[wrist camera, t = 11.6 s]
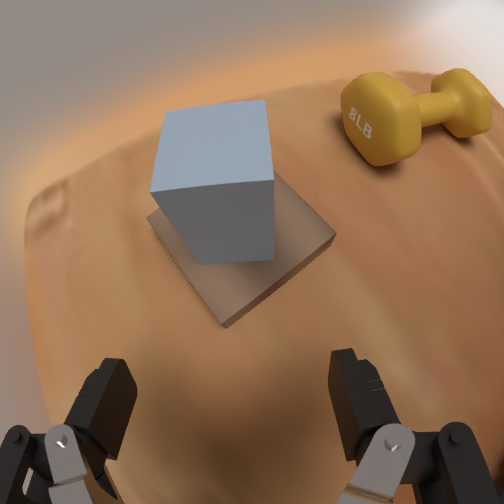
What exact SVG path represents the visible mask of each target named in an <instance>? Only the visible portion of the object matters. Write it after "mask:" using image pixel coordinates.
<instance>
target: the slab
mask: <svg viewBox="0 0 504 504" xmlns="http://www.w3.org/2000/svg"><path fill="white" fill-rule="evenodd" d="M273 174H274V260H269V261H254V262H239V263H223V264H207V265H200V264H199V263H198V261H197V260H196V259H195V257H194V256H193V254H192V253H191V252H190V250H189V249H188V247H187V246H186V245H185V243H184V242H183V240H182V239H181V237H180V236H179V235H178V233H177V232H176V230H175V229H174V227H173V226H172V224H171V223H170V222H169V220H168V219H167V217H166V216H165V214H164V213H163V211H162V210H161V208H159V209H157V210H156V211H154V212H153V213H152V214H150V215H149V216H148V217H146V218H147V220H148V221H149V223H150V224H151V226H152V227H153V229H154V230H155V232H156V233H157V235H158V236H159V238H160V239H161V241H162V242H163V244H164V245H165V247H166V248H167V250H168V251H169V253H170V254H171V256H172V257H173V259H174V260H175V262H176V263H177V264H178V266H179V267H180V269H181V270H182V272H183V273H184V274H185V276H186V277H187V279H188V280H189V281H190V283H191V284H192V286H193V287H194V288H195V290H196V291H197V293H198V294H199V295H200V297H201V298H202V299H203V301H204V302H205V304H206V305H207V306H208V308H209V309H210V310H211V312H212V313H213V314H214V316H215V317H216V318H217V320H218V321H219V322H220V324H221V325H223V326H224V327H225V328H226V329H227V328H228V327H229V326H231V325H232V324H233V323H235V322H236V321H237V320H239V319H240V318H241V317H242V316H244V315H245V314H246V313H248V312H249V311H250V310H252V309H253V308H254V307H255V306H257V305H258V304H259V303H261V302H262V301H263V300H264V299H266V298H267V297H268V296H269V295H271V294H272V293H273V292H275V291H276V290H277V289H278V288H280V287H281V286H282V285H283V284H285V283H286V282H287V281H288V280H290V279H291V278H292V277H293V276H294V275H296V274H297V273H298V272H299V271H301V270H302V269H303V268H304V267H306V266H307V265H308V264H309V263H310V262H312V261H313V260H314V259H315V258H316V257H318V256H319V255H320V254H321V253H323V252H324V251H325V250H326V249H327V248H328V247H330V245H331V243H332V241H333V239H334V237H335V235H336V232H335V231H334V230H333V229H332V228H331V227H330V226H329V225H328V224H327V222H326V221H325V220H324V219H323V218H322V217H321V216H320V215H319V214H318V213H317V212H316V211H315V210H314V209H313V208H312V207H311V206H310V205H309V204H308V203H307V202H306V201H305V200H303V199H302V198H301V197H300V196H299V195H298V194H297V193H296V192H295V191H294V190H293V189H292V188H291V187H290V186H289V185H288V184H287V183H286V182H285V181H284V180H283V179H282V178H281V177H279V176H278V175H277V174H276V173H275V172H274V171H273Z"/></svg>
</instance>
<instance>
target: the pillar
mask: <svg viewBox="0 0 504 504" xmlns="http://www.w3.org/2000/svg"><path fill="white" fill-rule="evenodd" d="M150 193H151V195H152V196H153V198H154V199H155V201H156V202H157V204H158V205H159V207H160V208H161V210H162V211H163V213H164V214H165V216H166V217H167V219H168V220H169V222H170V223H171V224H172V226H173V227H174V229H175V230H176V232H177V233H178V235H179V236H180V237H181V239H182V240H183V242H184V243H185V245H186V246H187V247H188V249H189V250H190V252H191V253H192V254H193V256H194V257H195V259H196V260H197V261H198V263H199V264H200V265H207V264H223V263H239V262H254V261H269V260H274V174H273V165H272V156H271V147H270V138H269V130H268V122H267V113H266V105H265V100H256V101H244V102H233V103H224V104H215V105H208V106H200V107H194V108H188V109H181V110H176V111H170V112H166V113H165V117H164V122H163V126H162V131H161V135H160V140H159V145H158V150H157V155H156V160H155V165H154V171H153V176H152V182H151V188H150Z"/></svg>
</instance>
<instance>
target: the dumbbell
mask: <svg viewBox="0 0 504 504" xmlns="http://www.w3.org/2000/svg"><path fill="white" fill-rule="evenodd" d="M340 100H341V110H342V117H343V123H344V128H345V131H346V134H347V136H348V138H349V139H350V141H351V142H352V143H353V145H354V146H355V147H356V148H357V150H358V151H359V152H360V154H361V155H362V156H363V157H364V158H365V159H366V161H367V162H369V163H370V164H371V165H373V166H384V165H388V164H392V163H395V162H398V161H401V160H404V159H406V158H409V157H411V156H413V155H414V154H416V153H417V152H418V150H419V148H420V144H421V127H426V126H430V125H434V124H438V123H442V125H443V126H444V127H445V128H446V129H447V130H448V131H449V132H450V133H451V134H452V135H454V136H455V137H457V138H466V137H471V136H475V135H479V134H482V133H485V132H487V131H488V130H489V129H490V127H491V122H492V97H491V94H490V92H489V91H488V89H487V88H486V87H485V86H484V85H483V84H482V83H481V82H480V81H479V80H478V79H477V78H476V77H475V76H474V75H473V74H471V73H470V72H469V71H467V70H465V69H458V68H457V69H452V70H449V71H446V72H444V73H442V74H441V75H439V76H437V77H436V78H435V79H433V81H432V83H431V93H421V94H417V95H411V94H410V93H409V92H408V90H407V89H405V88H404V87H403V86H402V85H401V84H400V83H399V82H398V81H396V80H395V79H394V78H392V77H391V76H389V75H387V74H385V73H380V72H375V73H367V74H362V75H360V76H358V77H357V78H356V79H354V80H353V81H352V82H351V83H350V84H349V85H348V86H347V87H346V88H345V89H344V90H343V91H342V94H341V99H340Z"/></svg>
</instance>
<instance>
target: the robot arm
mask: <svg viewBox="0 0 504 504" xmlns="http://www.w3.org/2000/svg"><path fill="white" fill-rule="evenodd" d="M328 388H329V393H330V397H331V401H332V405H333V409H334V412H335V416H336V420H337V424H338V428H339V432H340V436H341V440H342V444H343V448H344V452H345V457H346V461H347V462H348V461H352V460H355V461H356V464H357V469H356V471H355V473H354V475H353V476H352V478H351V480H350V482H349V483H348V485H347V487H346V488H345V490H344V491H343V493H342V495H341V496H340V498H339V499H338V501H337V502H336V504H393V501H392V499H393V496H394V494H395V492H396V489H397V487H398V485H399V484H412V487H413V491H414V495H415V499H416V503H417V504H500V501H499V498H498V495H497V492H496V489H495V486H494V483H493V480H492V478H491V475H490V472H489V470H488V467H487V465H486V462H485V460H484V457H483V455H482V452H481V450H480V448H479V445H478V443H477V441H476V438H475V436H474V434H473V432H472V430H471V429H470V427H469V426H467V425H466V424H464V423H462V422H451V423H448V424H447V425H445V426H444V427H443V428H442V429H441V431H440V432H414V431H411V430H410V429H409V428H408V427H406V426H404V425H402V424H401V423H400V421H399V419H398V417H397V415H396V412H395V410H394V408H393V405H392V403H391V401H390V398H389V396H388V394H387V392H386V389H384V385H383V383H382V380H380V376H379V374H378V372H377V369H376V367H374V366H373V365H372V364H371V363H370V362H369V361H368V360H367V359H364V360H359V361H358V360H357V358H356V355H355V353H354V351H353V349H352V348H348V349H342V350H335V351H332V352H331V359H330V367H329V375H328ZM136 398H137V386H136V383H135V381H134V379H133V377H132V375H131V373H130V371H129V369H128V366H127V364H126V362H125V361H124V360H123V359H116V358H105V359H104V360H103V362H102V364H101V365H100V367H99V369H95V370H94V371H93V372H92V373H91V374H90V375H89V376H88V377H87V378H86V380H85V382H84V384H83V386H82V388H81V390H80V392H79V396H77V398H76V400H75V402H74V404H73V406H72V408H71V410H70V412H69V414H68V416H67V418H66V420H65V422H64V424H59V425H55V426H53V427H52V428H50V429H49V430H48V432H47V433H46V434H31V433H30V432H29V430H28V429H27V428H26V427H24V426H22V425H16V426H14V427H12V428H11V429H9V431H8V432H7V434H6V436H5V438H4V440H3V442H2V445H1V447H0V504H125V503H124V502H123V500H122V498H121V496H120V494H119V492H118V490H117V488H116V486H115V484H114V482H113V480H112V478H111V475H110V473H109V471H108V469H107V467H106V465H105V461H106V458H107V459H111V460H116V461H117V457H118V454H119V451H120V447H121V444H122V441H123V438H124V435H125V431H126V428H127V425H128V422H129V419H130V416H131V413H132V410H133V407H134V404H135V401H136ZM28 468H30V469H32V470H33V475H32V477H31V480H30V484H29V487H28V490H27V493H26V495H24V493H23V490H22V486H23V483H24V480H25V477H26V474H27V471H28Z"/></svg>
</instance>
